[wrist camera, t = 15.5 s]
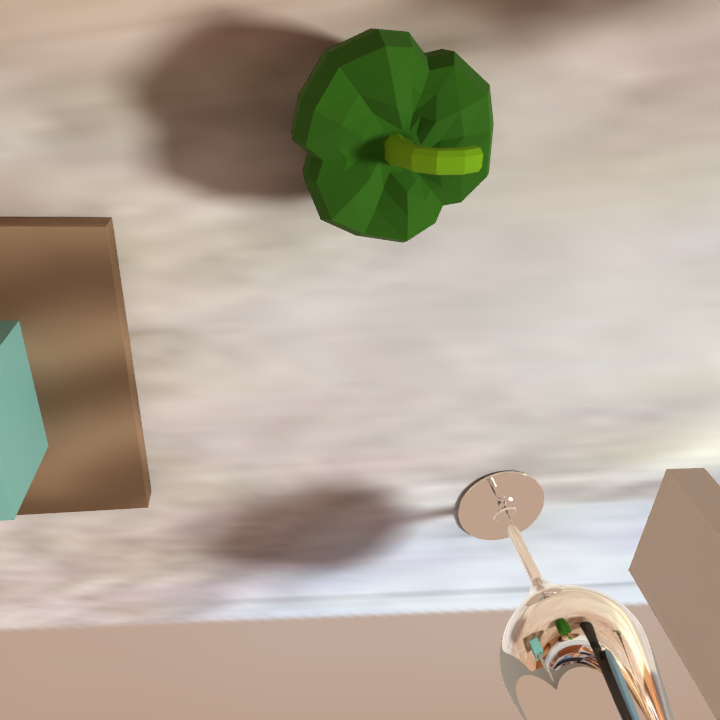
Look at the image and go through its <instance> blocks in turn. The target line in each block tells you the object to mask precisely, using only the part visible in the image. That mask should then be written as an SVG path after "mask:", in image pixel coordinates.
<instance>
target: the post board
mask: <svg viewBox="0 0 720 720" xmlns="http://www.w3.org/2000/svg"><path fill="white" fill-rule="evenodd" d="M0 321H19V323H20V327H21V332H22V336H23V340H24V344H25V349H26V353H27V357H28V361H29V366H30V370H31V374H32V378H33V383H34V387H35V391H36V395H37V400H38V404H39V408H40V412H41V417H42V421H43V425H44V429H45V434H46V438H47V442H48V448H47V450H46V452H45V455H44V457H43V459H42V461H41V463H40V465H39V467H38V470H37V472H36V474H35V476H34V478H33V480H32V482H31V485H30V487H29V489H28V491H27V493H26V495H25V498H24V500H23V502H22V504H21V506H20V508H19V510H18V513H17V515H26V514H43V513H61V512H78V511H96V510H113V509H131V508H148V505H149V500H150V495H151V486H150V479H149V472H148V465H147V458H146V451H145V444H144V437H143V430H142V424H141V417H140V410H139V403H138V396H137V389H136V382H135V375H134V368H133V361H132V354H131V347H130V340H129V334H128V327H127V320H126V313H125V306H124V299H123V292H122V285H121V278H120V271H119V264H118V257H117V251H116V244H115V237H114V230H113V223H112V218H69V217H0Z"/></svg>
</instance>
